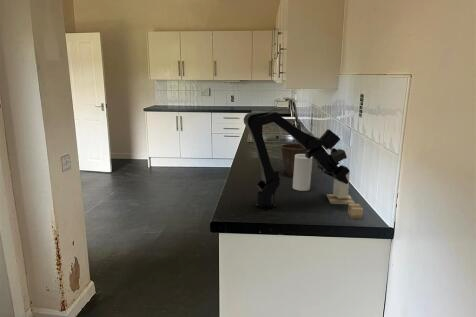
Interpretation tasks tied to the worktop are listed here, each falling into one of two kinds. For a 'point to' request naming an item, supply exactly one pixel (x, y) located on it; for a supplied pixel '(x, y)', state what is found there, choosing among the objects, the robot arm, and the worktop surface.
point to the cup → (302, 172)
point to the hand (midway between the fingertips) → (344, 181)
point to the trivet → (340, 199)
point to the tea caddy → (341, 188)
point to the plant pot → (291, 156)
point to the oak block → (355, 211)
